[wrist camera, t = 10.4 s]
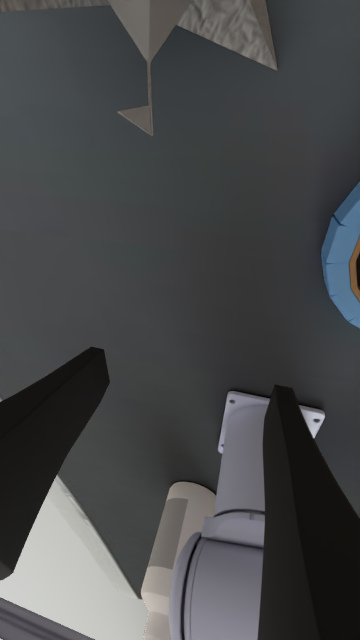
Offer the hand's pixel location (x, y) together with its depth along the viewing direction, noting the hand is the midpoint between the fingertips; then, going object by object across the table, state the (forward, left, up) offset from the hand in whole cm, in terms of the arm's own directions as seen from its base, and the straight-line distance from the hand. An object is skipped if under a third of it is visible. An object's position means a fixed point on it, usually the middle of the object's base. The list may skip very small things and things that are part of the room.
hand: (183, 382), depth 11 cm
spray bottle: (-32, 0, -10) cm, 33 cm away
